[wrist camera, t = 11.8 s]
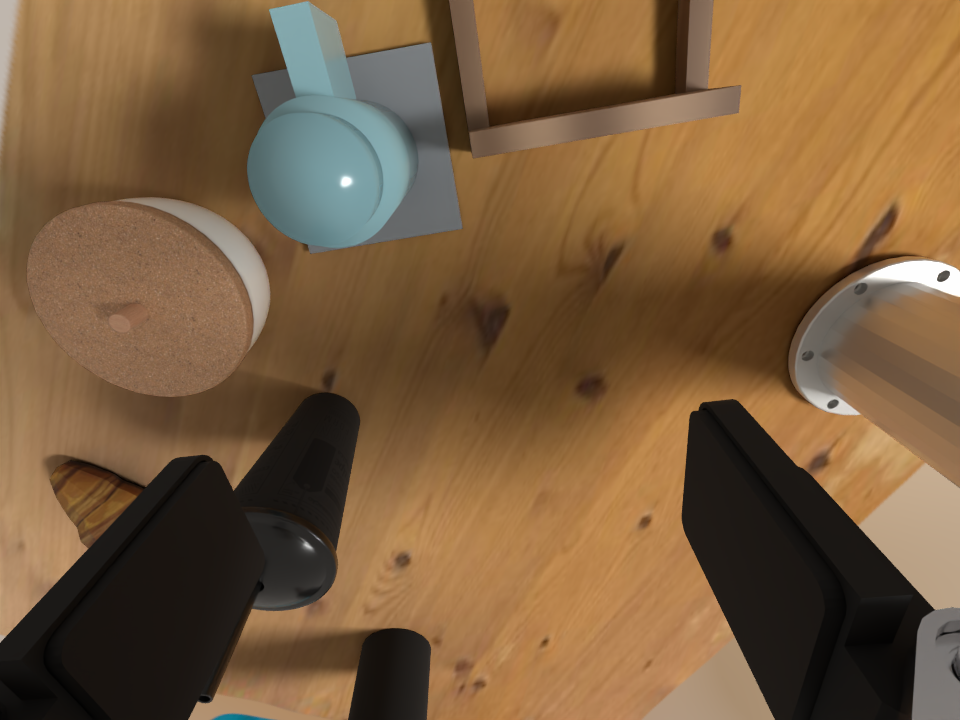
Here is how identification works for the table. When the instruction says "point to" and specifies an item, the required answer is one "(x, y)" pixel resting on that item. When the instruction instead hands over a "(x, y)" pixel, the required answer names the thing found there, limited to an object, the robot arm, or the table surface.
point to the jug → (327, 143)
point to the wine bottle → (392, 677)
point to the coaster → (416, 100)
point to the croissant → (91, 497)
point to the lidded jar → (149, 293)
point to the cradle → (601, 121)
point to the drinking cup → (296, 511)
